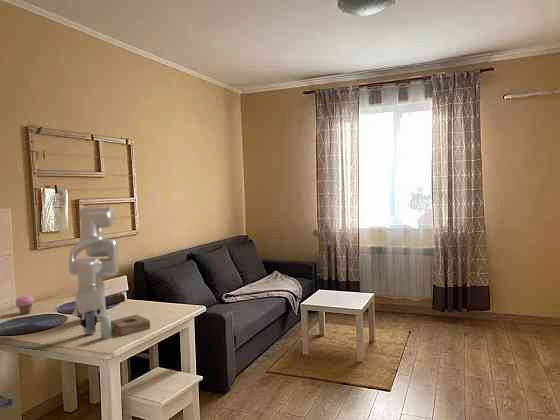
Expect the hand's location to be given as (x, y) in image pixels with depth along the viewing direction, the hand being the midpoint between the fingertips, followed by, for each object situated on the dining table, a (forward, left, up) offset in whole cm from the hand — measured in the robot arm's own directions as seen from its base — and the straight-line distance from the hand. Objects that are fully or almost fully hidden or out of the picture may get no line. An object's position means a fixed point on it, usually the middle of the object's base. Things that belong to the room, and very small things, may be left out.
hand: (89, 325), depth 198 cm
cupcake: (-64, -12, -4) cm, 66 cm away
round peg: (+11, +4, -4) cm, 12 cm away
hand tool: (-44, +26, -5) cm, 51 cm away
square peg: (0, 0, -3) cm, 3 cm away
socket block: (+7, +17, -4) cm, 18 cm away
